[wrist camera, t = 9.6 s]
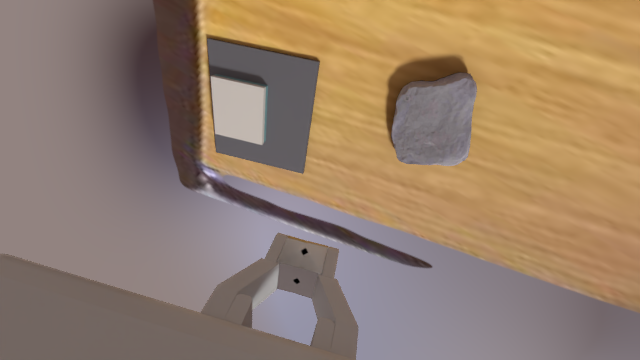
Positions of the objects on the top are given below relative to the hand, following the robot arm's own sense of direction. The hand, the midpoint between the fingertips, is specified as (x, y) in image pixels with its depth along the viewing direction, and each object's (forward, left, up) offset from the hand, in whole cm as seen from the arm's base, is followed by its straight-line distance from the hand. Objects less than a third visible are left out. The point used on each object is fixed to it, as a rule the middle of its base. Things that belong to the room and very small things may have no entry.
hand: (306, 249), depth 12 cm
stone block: (+2, +10, -30) cm, 31 cm away
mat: (+6, -14, -29) cm, 33 cm away
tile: (+6, -13, -28) cm, 31 cm away
